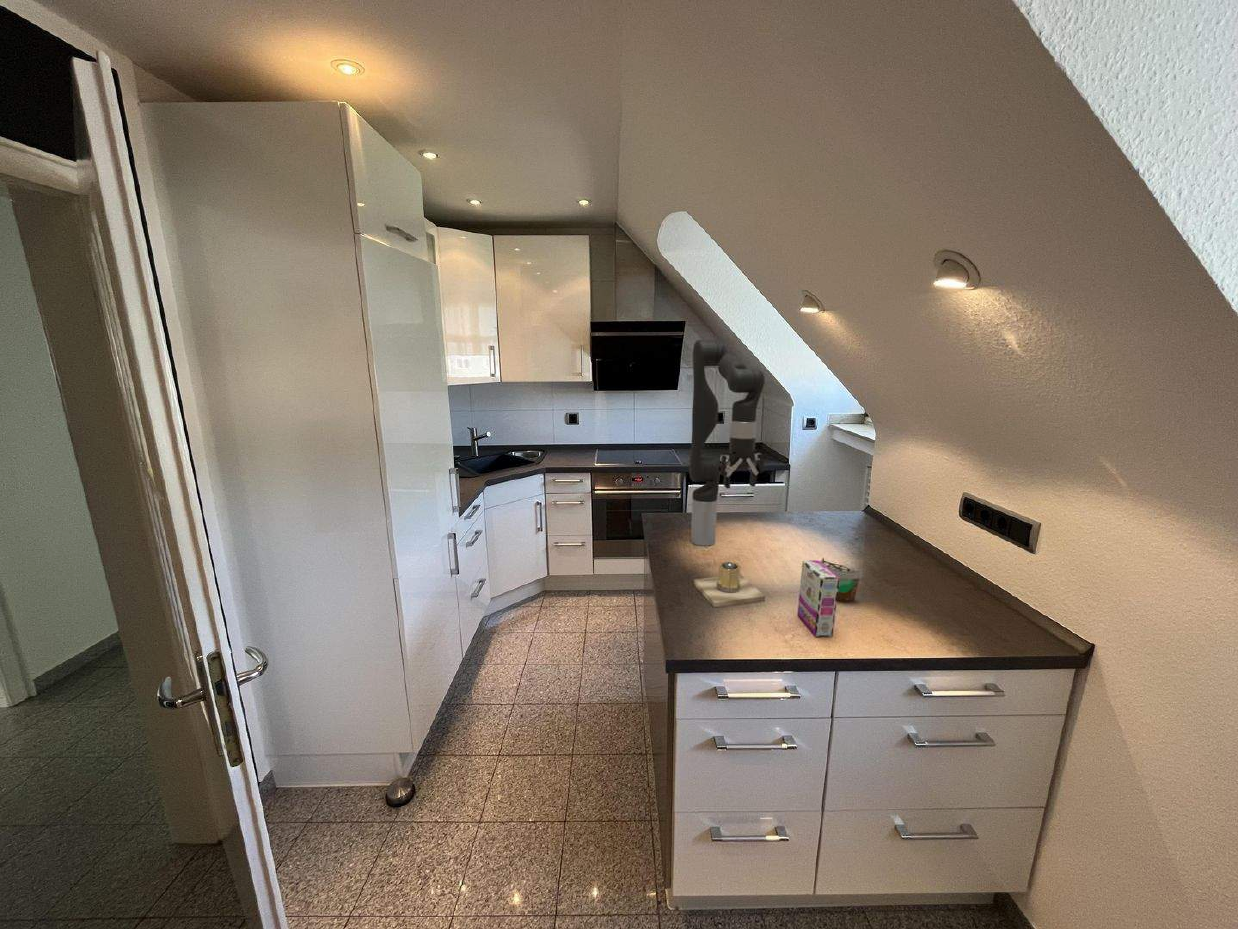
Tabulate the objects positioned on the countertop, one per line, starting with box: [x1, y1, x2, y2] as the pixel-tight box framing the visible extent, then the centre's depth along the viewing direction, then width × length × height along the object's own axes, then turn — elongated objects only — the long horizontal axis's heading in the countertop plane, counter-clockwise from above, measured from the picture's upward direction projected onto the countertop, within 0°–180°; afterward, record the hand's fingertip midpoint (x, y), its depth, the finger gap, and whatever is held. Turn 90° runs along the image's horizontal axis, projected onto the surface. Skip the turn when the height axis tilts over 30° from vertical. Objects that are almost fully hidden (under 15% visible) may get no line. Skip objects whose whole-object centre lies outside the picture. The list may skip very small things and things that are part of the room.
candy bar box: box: [797, 560, 840, 638], centre depth 127 cm, size 11×5×16 cm, turn 4°
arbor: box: [717, 561, 740, 593], centre depth 145 cm, size 7×7×8 cm
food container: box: [820, 557, 863, 603], centre depth 142 cm, size 12×6×10 cm, turn 40°
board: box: [693, 573, 766, 608], centre depth 146 cm, size 15×16×2 cm
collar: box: [717, 561, 742, 589], centre depth 145 cm, size 6×6×6 cm
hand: (739, 486), depth 151 cm, fingers open, 8 cm apart
